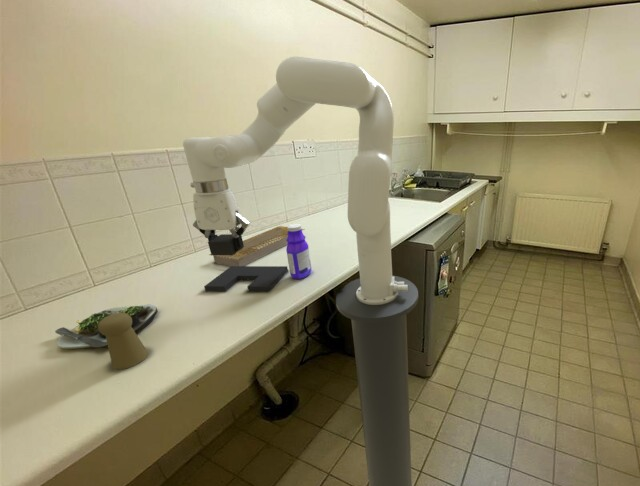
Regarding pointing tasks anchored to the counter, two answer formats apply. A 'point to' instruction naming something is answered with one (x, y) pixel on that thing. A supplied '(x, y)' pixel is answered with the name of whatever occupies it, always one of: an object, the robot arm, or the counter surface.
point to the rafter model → (254, 252)
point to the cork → (122, 341)
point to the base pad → (248, 278)
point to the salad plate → (88, 328)
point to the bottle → (298, 252)
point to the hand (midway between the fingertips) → (227, 249)
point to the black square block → (222, 245)
